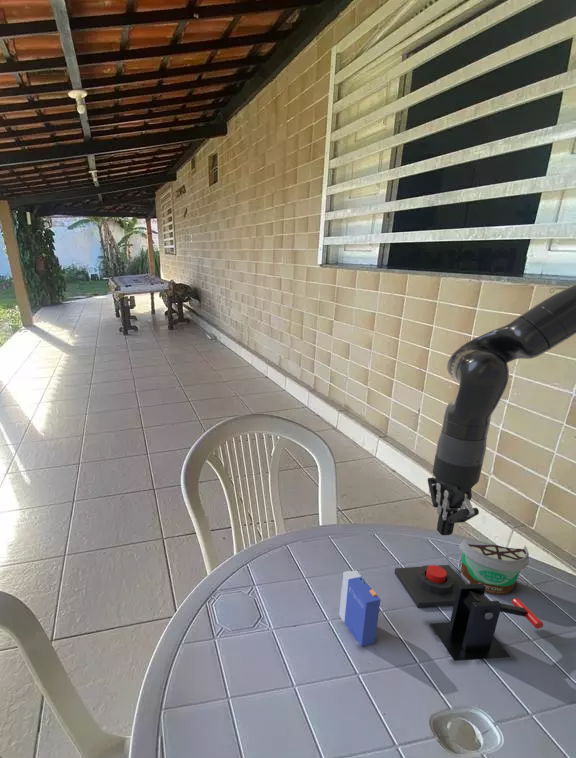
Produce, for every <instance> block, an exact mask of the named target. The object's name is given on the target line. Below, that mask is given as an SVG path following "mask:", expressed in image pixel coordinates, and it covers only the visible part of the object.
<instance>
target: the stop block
mask: <svg viewBox="0 0 576 758" xmlns="http://www.w3.org/2000/svg"><path fill="white" fill-rule="evenodd" d="M430 565H431V564H429V565H422V566H408V567H395V568H394V573H393V574H394V575H395V576H396V578H397V580H398V581H399V582H400V584H401V585H402V587H403V588H404V590H405V592H406V593H407V594H408V595H409V597H410V599H411V600H412V602H413V603H414V604H415V606H416V608H417V609H427V608H441V607H442V608H443V607H453V606H454V602H455V597H456V592H457V588H458V585H467V583H465V582H464V580H463V579H462V578H461V577H460V576H459V574H457V573H456V571H455V569H453V568H452V566H450V564H440V565H436V566H439V567H441V568H443V569H444V570H445V571H446V573H447V576H446V581H445V582H444V583H440V584H439V583H435V582H432V581H430V580H429V579H428V578H427V577H426V571H427V567H428V566H430Z"/></svg>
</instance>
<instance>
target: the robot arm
mask: <svg viewBox="0 0 576 758" xmlns="http://www.w3.org/2000/svg"><path fill="white" fill-rule="evenodd" d="M575 335H576V284H574V285H572V286H569V287H568V288H565V289H563V290H560V291H558V292H557V293H554V294H553V295H551V296H549V297H547V298H545V299H543V300H542V301H541V302H538V303H537V304H535V305H534V306H533V307H531V308H530V309H528V310H526V311H525V312H523V313H521V314H520V315H518V316H517V317H516V318H514V319H512V320H511V321H510V322H508V323H506V324H505V325H502V326H500V327H497V328H495V329H492V330H490V331H489V332H486V333H484V334H482V335H479V336H477V337H475V338H473V339H471V340H470V341H467V342H466V343H464V344H462V345H461V346H460V347H458V348H457V349H456V350H454V352H453V353H452V354H450V356H449V358H448V360H447V363H446V371H447V374H448V375H449V377H450V378H451V379H452V380H454V382H456V383H457V384H458V391H457V394H456V397H455V399H452V400H450V401H449V402H447V404H446V407H445V409H444V414H443V419H442V424H441V430H440V434H439V436H438V439H437V444H436V449H435V455H434V460H433V466H432V474H433V477H427V484H428V489H429V494H430V498H431V502H432V506H433V508H436V513H437V515H438V517H437V518H438V519H437V524H436V531H437V532H438V533H439V534H440V536H451V535H452V534H453V532H454V529H455V524H458V523H465V522H467V521H469V520H471V519H473V518H474V517H476V516H478V515H479V514H480V511H479V508H478V507H473V505H472V503H471V500H472V499H473V498H472V497H473V495H472V489H473V487H475V486H476V485H477V484H478V483H479V482H480V478H481V473H482V468H483V464H484V460H485V457H486V451H487V441H488V440H487V439H488V434H489V430H490V425H491V420H492V415H493V413H494V411H495V410H496V408H497V407H498V405H499V403H500V401H501V399H502V397H503V395H504V394H505V391H506V389H507V387H508V383H509V380H510V379H509V378H510V368H509V365H508V363H511V362H512V361H515V360H519V359H520V360H521V359H523V360H524V359H525V360H528V359H529V360H530V359H535V358H537V357H539V356H542V355H543V354H545V353H547V352H549V351H550V350H552V349H553V348H555V347H557V346H558V345H560V344H562V343H564V342H565V341H567V340H568V339H571V337H573V336H575Z"/></svg>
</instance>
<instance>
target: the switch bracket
mask: <svg viewBox="0 0 576 758" xmlns="http://www.w3.org/2000/svg"><path fill="white" fill-rule="evenodd" d="M485 588H486V587H485V586H484V585H483V584H469V583H466V585H458V588H457V592H456V597H455V602H454V606H452V611H451V616H450V619H449V621H448V622H447V621H446V622H433V623H432V622H431V623H428V626H429V627H430V629H431V630H432V632H433V634H434V635H435V636H436V637H438V639H439V640H440V642H441V643H442V644H443V646H444V648H445V649H446V650H447V651H446V652H447V653H448V654H449V656H450V657H451V658H452V660H453V662H459V661H473V660H475V661H476V660H488V659H503V658H504V659H505V658H512V656H511V655H510V654H509V653H508V651H507V650H506V648H504V647H503V646H502V644H501V643H500V642H499V640H498V639H497V638H496V637H495V632H496V629H497V624H498V621H499V618H500V613H501V612H500V610H501V606H502V605H501V603H502V602H501V601H499V600H489V601H485V602H473V603H472V607H471V610H470V609H469V608H468V607H467V605H466V604H465V603H464V602H463V601H464V599H465V598H466V596H467V595H468V593H469V592H470V591H471V592H475V593H480V594H484V595H485V593H486V592H485Z"/></svg>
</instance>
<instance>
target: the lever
mask: <svg viewBox="0 0 576 758" xmlns="http://www.w3.org/2000/svg"><path fill="white" fill-rule="evenodd" d="M485 601H490V600H489V598H488V597H487V596H486V594H485V593H484V594H480V593H475V592H471V591H470V592H469V593H468V595H467V596H466V598H465V599H464V601H463V602H464V603H465V604H466V605H467V607H468V608H469V609H470V610H471V607H472V603H473V602H485ZM500 603H501V605H502V606H501V610H500V613H506V614H510V615H515V616H518V617H519V616H520V617H524V618H525V619H527V621H528V622H529V623H530V624H531V625H532V626H533V627H534V628H535V629H542V628H543V627H544V622H543V621H542V620H540V618H538V616H536V614H535V613H534V612H533V611H532V610H531V609H530V608H529V607H528V606H527V604H525V603H524V602H523V601H522V600H521V599H520V598H519V597H515V598H513V599H512V600H511V604H512V605H511V604H507V603H502V602H500Z"/></svg>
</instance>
